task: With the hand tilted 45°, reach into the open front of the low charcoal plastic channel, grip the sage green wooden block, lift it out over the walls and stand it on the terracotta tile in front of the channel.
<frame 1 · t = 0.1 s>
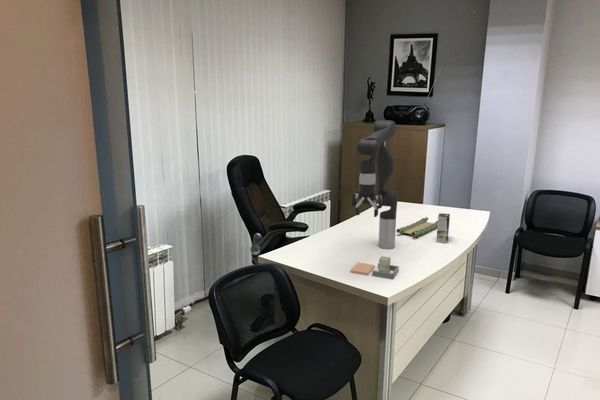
hand: (366, 215, 215), 29 cm above the table, tool pointing down, fingers open, 8 cm apart
stretcher: (420, 231, 293), on the table
terracotta tile: (362, 269, 226), on the table
coffee box: (442, 241, 273), on the table
charcoal channel: (384, 273, 222), on the table
sage block: (384, 265, 221), in the charcoal channel
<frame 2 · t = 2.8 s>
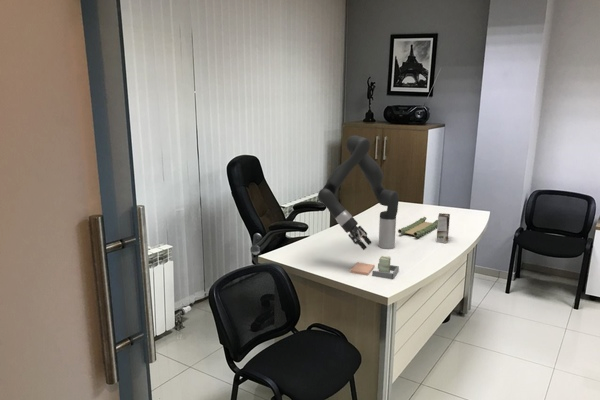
hand: (367, 246, 222), 13 cm above the table, tool tilted 45°, fingers open, 8 cm apart
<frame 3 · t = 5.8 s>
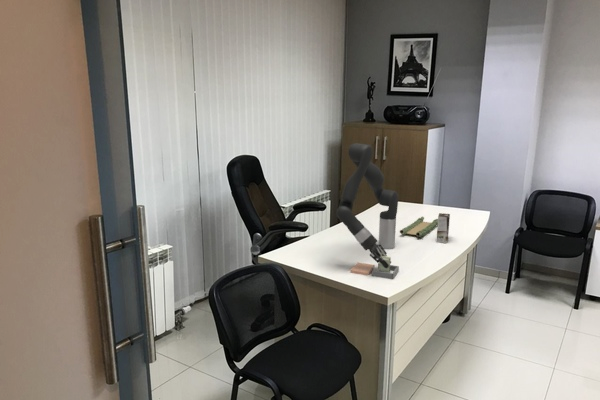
hand: (388, 265, 220), 4 cm above the table, tool tilted 45°, fingers closed on sage block, 4 cm apart
sage block: (384, 265, 221), in the charcoal channel, touching gripper
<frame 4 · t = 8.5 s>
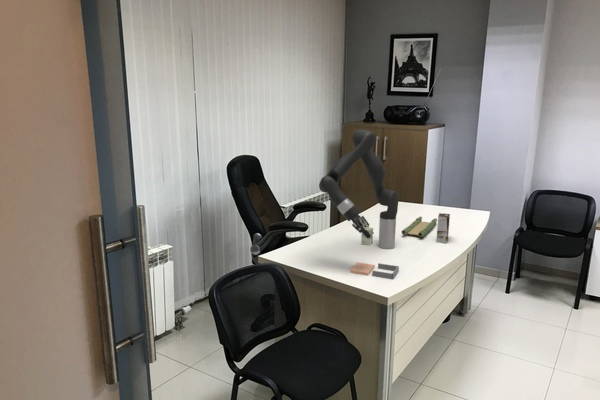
hand: (370, 235, 220), 18 cm above the table, tool tilted 45°, fingers closed on sage block, 4 cm apart
sage block: (367, 236, 221), point 18 cm above the table, touching gripper
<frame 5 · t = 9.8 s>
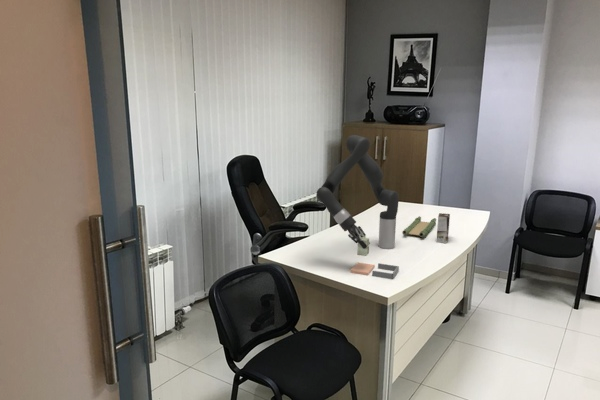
hand: (367, 246, 222), 13 cm above the table, tool tilted 45°, fingers closed on sage block, 4 cm apart
sage block: (363, 246, 223), point 12 cm above the table, touching gripper
when the fingers open (7 cm above the table, at t = 11.2 s): sage block drops 1 cm, resting on terracotta tile.
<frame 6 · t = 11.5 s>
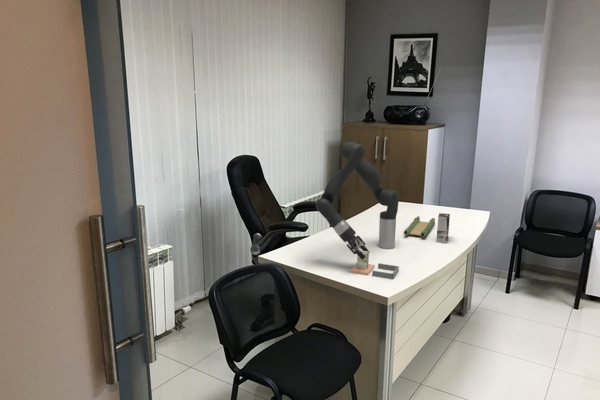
hand: (366, 256, 224), 7 cm above the table, tool tilted 45°, fingers open, 7 cm apart
sage block: (362, 259, 225), on the terracotta tile, point 5 cm above the table
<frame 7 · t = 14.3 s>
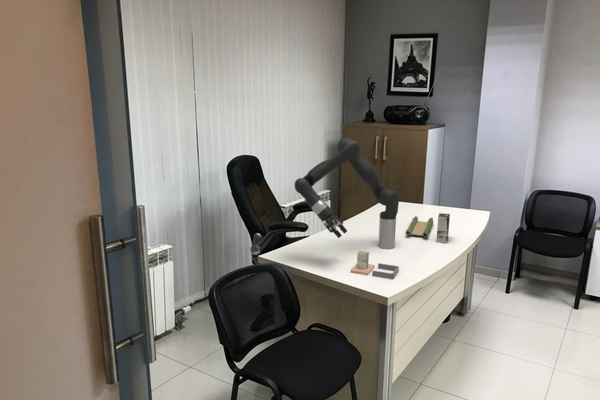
hand: (343, 234, 226), 17 cm above the table, tool tilted 45°, fingers open, 8 cm apart
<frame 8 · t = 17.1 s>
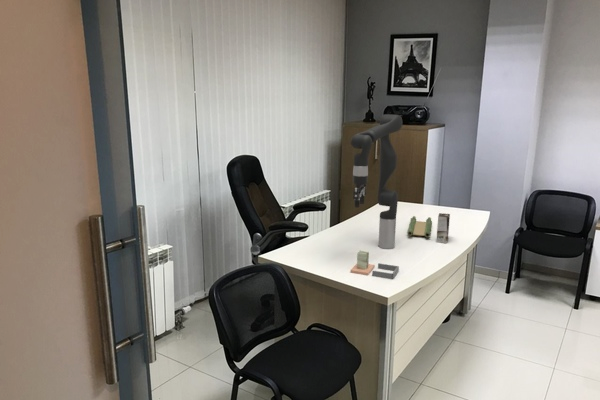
hand: (359, 205, 232), 30 cm above the table, tool pointing down, fingers open, 8 cm apart
at the end: sage block inside the target area on the terracotta tile (0.1 cm from its centre), point 5.2 cm above the terracotta tile's base; sage block tilted 0°; the gripper is holding nothing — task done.
